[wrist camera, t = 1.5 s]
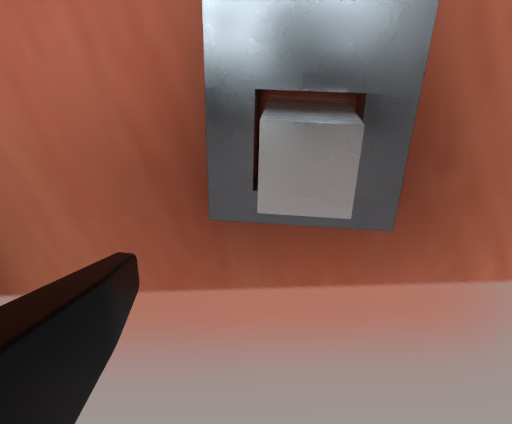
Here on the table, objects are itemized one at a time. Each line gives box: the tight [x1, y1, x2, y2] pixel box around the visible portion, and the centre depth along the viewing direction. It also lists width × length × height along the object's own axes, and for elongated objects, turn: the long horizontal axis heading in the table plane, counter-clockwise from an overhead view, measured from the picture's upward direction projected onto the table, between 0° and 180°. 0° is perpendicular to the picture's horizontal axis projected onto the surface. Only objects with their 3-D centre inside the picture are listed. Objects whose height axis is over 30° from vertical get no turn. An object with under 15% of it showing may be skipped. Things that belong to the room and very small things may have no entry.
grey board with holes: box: [202, 0, 439, 231], centre depth 18 cm, size 10×21×2 cm, turn 178°
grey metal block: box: [257, 96, 365, 219], centre depth 19 cm, size 4×4×6 cm
